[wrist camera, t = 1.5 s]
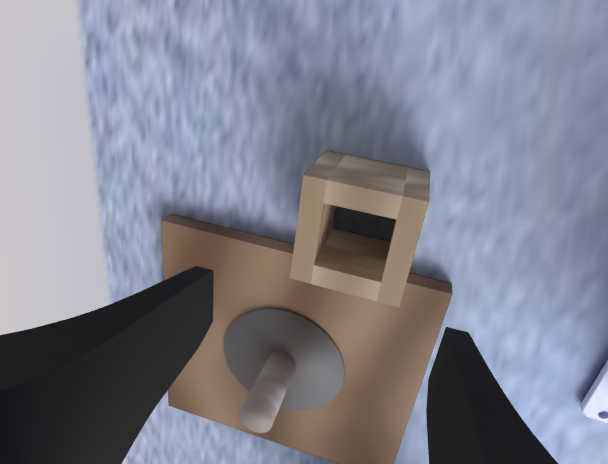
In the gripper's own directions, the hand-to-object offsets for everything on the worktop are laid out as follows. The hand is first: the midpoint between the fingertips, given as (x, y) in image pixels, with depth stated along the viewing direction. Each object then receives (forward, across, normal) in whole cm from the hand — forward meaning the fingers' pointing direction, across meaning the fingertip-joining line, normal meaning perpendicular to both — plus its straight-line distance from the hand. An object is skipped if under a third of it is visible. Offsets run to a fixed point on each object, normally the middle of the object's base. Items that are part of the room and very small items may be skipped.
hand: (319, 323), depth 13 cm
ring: (+10, 0, 0) cm, 10 cm away
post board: (+10, +3, +10) cm, 14 cm away
